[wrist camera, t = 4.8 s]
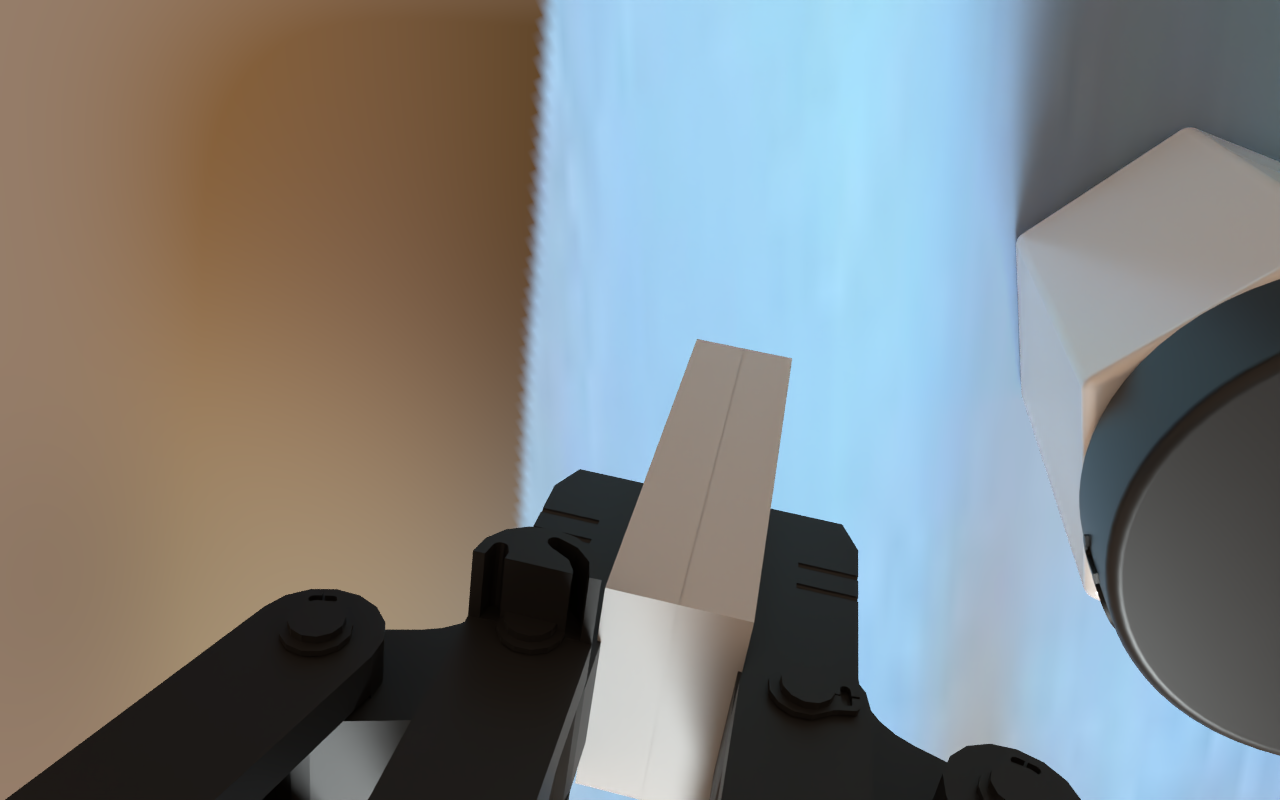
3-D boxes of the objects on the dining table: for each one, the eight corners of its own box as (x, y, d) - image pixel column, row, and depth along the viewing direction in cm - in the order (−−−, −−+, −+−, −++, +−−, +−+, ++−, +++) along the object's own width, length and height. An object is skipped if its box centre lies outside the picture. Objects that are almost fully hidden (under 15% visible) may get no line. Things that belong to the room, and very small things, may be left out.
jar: (941, 370, 28) (987, 647, 17) (1100, 83, 24) (1282, 214, 14) (1247, 495, 28) (1483, 853, 17) (1455, 225, 24) (1924, 470, 13)
